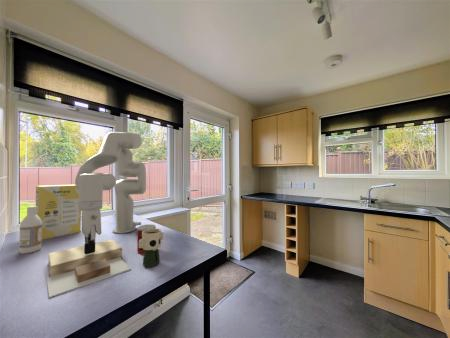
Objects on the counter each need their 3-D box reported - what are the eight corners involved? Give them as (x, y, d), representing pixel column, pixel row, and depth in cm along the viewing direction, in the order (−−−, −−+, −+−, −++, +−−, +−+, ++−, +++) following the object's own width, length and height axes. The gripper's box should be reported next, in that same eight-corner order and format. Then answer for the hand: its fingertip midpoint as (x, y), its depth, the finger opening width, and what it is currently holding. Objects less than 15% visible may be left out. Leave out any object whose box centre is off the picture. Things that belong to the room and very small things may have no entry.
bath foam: (37, 252, 83) (38, 207, 83) (15, 255, 80) (16, 208, 80) (44, 246, 89) (45, 204, 89) (24, 249, 86) (25, 205, 86)
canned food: (137, 256, 80) (138, 230, 80) (136, 249, 87) (137, 225, 87) (156, 252, 83) (156, 228, 84) (154, 246, 90) (154, 223, 91)
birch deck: (112, 247, 88) (112, 239, 88) (121, 257, 79) (122, 247, 79) (48, 263, 72) (48, 253, 73) (50, 277, 63) (51, 266, 63)
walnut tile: (110, 265, 66) (110, 272, 66) (105, 259, 71) (105, 265, 71) (78, 275, 59) (78, 283, 59) (75, 267, 64) (74, 274, 64)
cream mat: (119, 258, 78) (119, 257, 78) (131, 269, 68) (131, 268, 68) (46, 279, 62) (46, 278, 62) (49, 298, 53) (49, 296, 53)
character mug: (144, 273, 66) (145, 236, 66) (132, 268, 70) (133, 233, 70) (168, 261, 75) (168, 228, 76) (156, 256, 79) (157, 226, 79)
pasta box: (75, 228, 118) (76, 184, 118) (80, 231, 111) (81, 185, 112) (34, 236, 103) (36, 185, 104) (37, 240, 97) (39, 186, 98)
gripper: (107, 206, 70) (106, 255, 69) (97, 202, 80) (96, 244, 80) (82, 209, 64) (81, 262, 64) (75, 204, 75) (74, 249, 74)
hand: (89, 252), depth 72 cm, fingers closed
